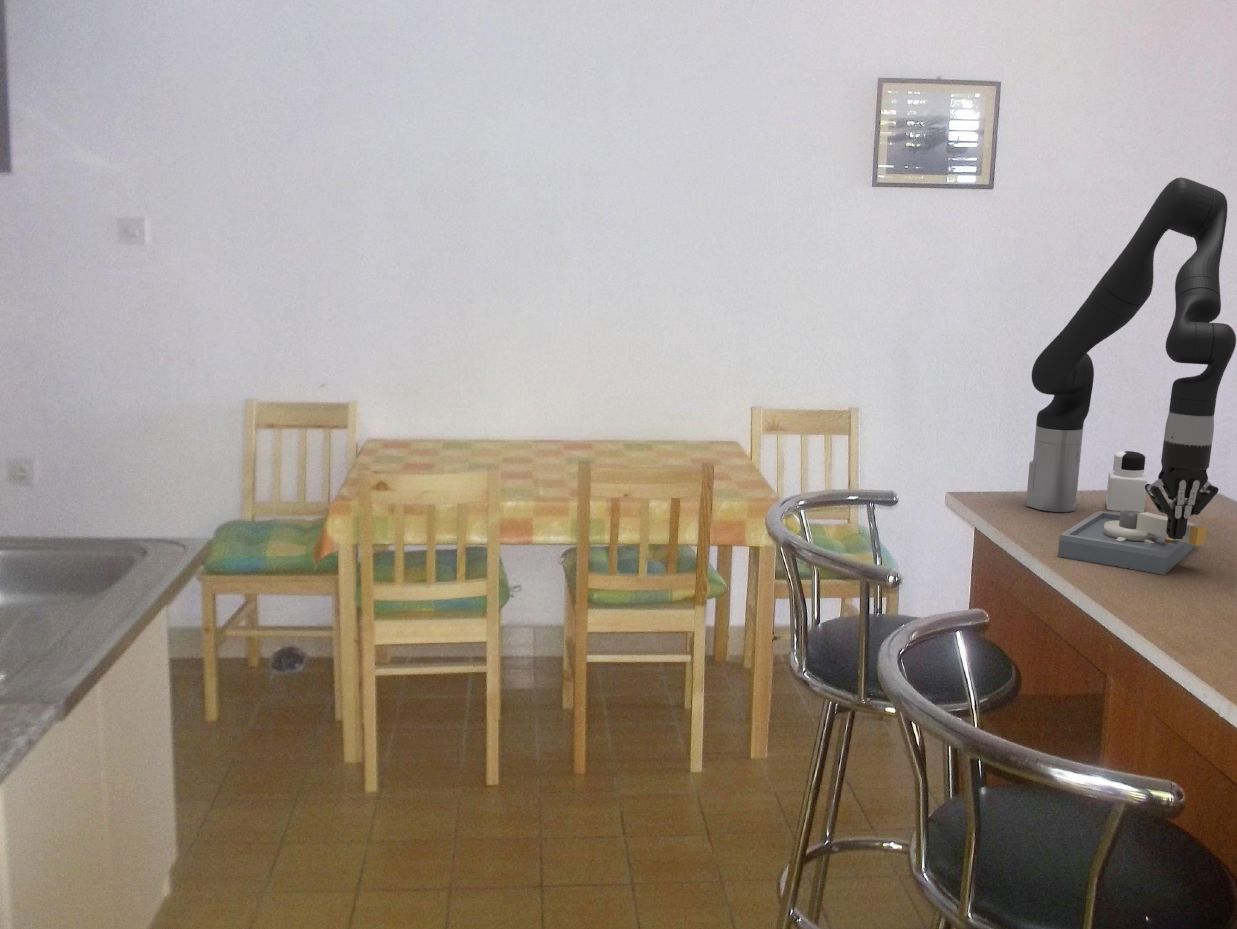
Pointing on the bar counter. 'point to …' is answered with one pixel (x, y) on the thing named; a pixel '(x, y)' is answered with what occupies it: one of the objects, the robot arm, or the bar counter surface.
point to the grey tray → (1120, 547)
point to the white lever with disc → (1150, 528)
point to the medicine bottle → (1127, 482)
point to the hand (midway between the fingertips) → (1175, 538)
